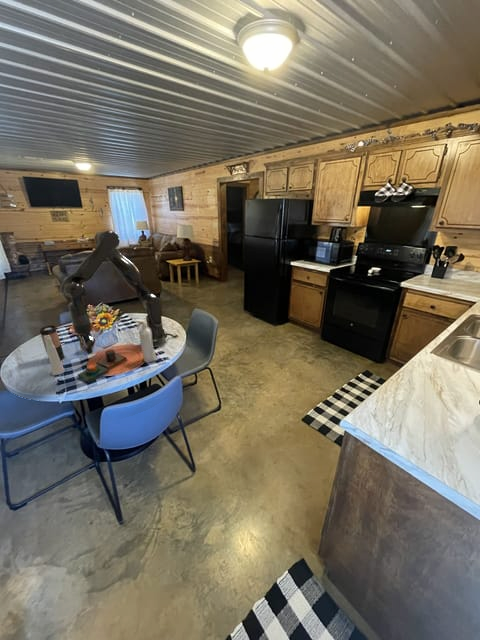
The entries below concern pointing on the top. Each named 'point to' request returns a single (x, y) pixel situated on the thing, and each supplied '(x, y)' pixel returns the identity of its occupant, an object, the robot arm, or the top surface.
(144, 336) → the fire extinguisher
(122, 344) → the top surface
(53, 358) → the cosmetic bottle
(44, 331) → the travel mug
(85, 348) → the egg
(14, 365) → the top surface
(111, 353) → the knob
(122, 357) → the panel
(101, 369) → the housing
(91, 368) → the button
